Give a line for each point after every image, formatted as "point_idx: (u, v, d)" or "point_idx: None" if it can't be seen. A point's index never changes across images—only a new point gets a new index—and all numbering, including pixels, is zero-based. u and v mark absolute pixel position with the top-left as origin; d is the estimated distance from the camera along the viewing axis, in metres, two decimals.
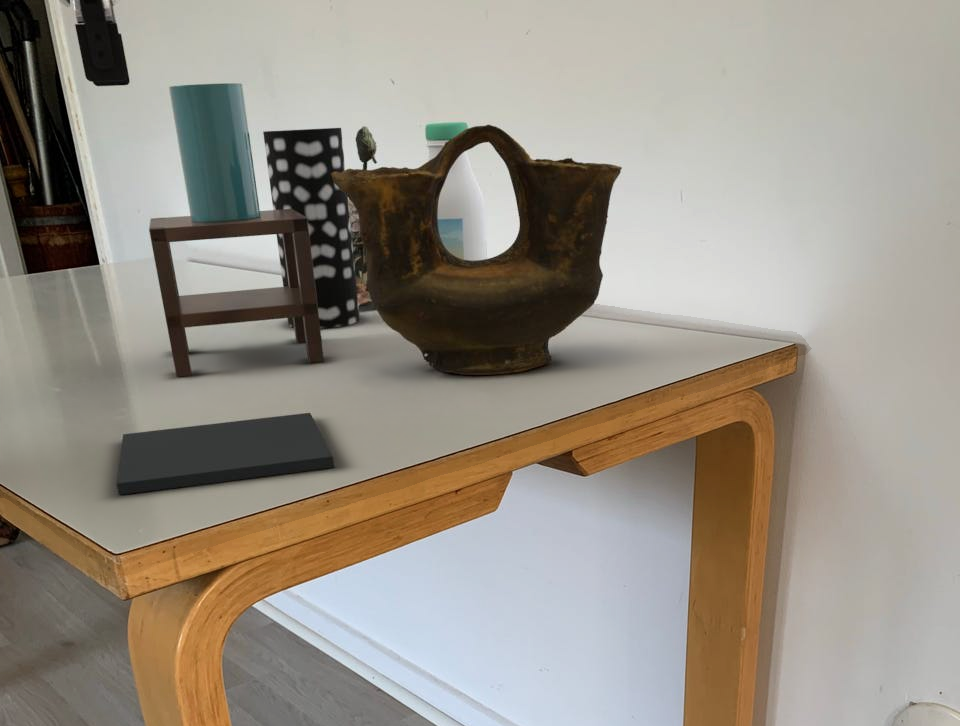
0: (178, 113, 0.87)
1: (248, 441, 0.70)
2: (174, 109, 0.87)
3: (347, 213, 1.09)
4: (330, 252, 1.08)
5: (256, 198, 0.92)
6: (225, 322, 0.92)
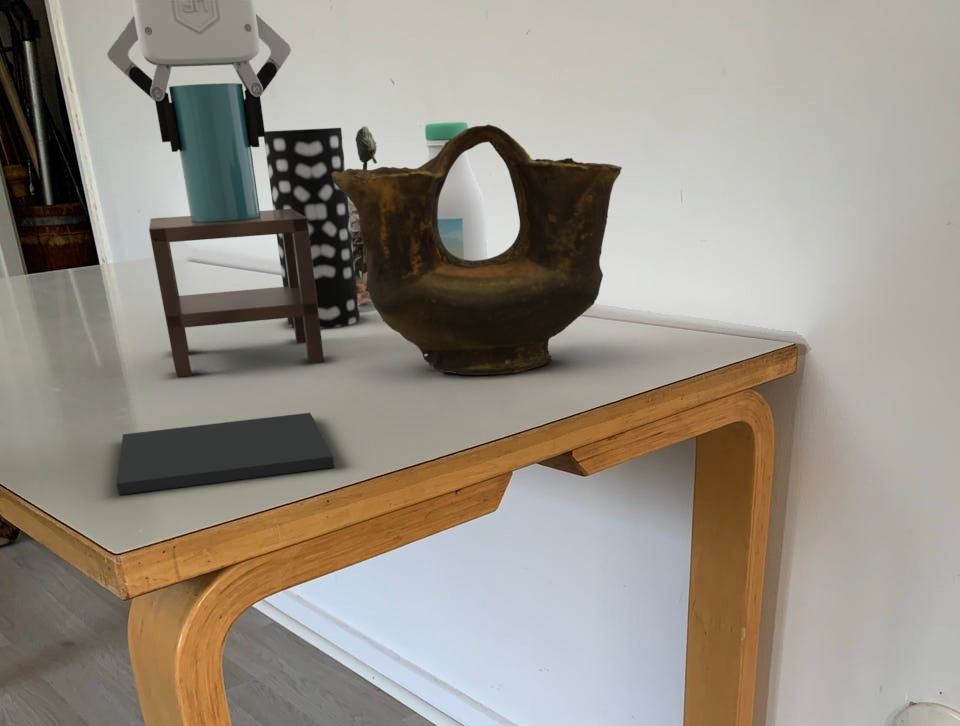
0: (178, 113, 0.87)
1: (248, 441, 0.70)
2: (174, 109, 0.87)
3: (347, 213, 1.09)
4: (330, 252, 1.08)
5: (256, 198, 0.92)
6: (225, 322, 0.92)
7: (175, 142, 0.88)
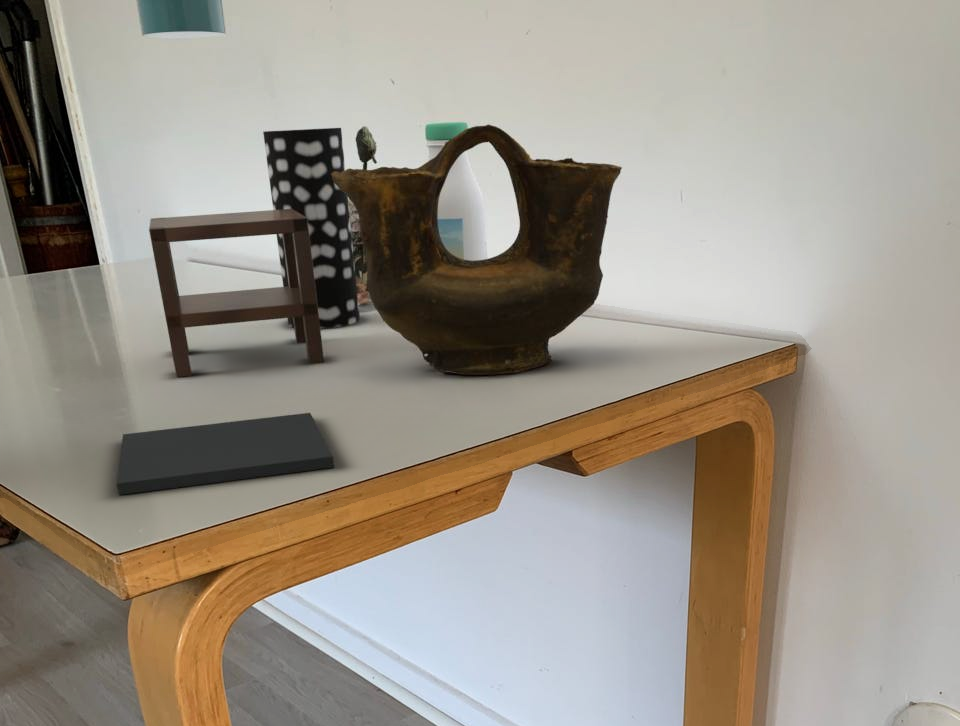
0: None
1: (248, 441, 0.70)
2: None
3: (347, 213, 1.09)
4: (330, 252, 1.08)
5: (220, 8, 0.76)
6: (225, 322, 0.92)
7: None
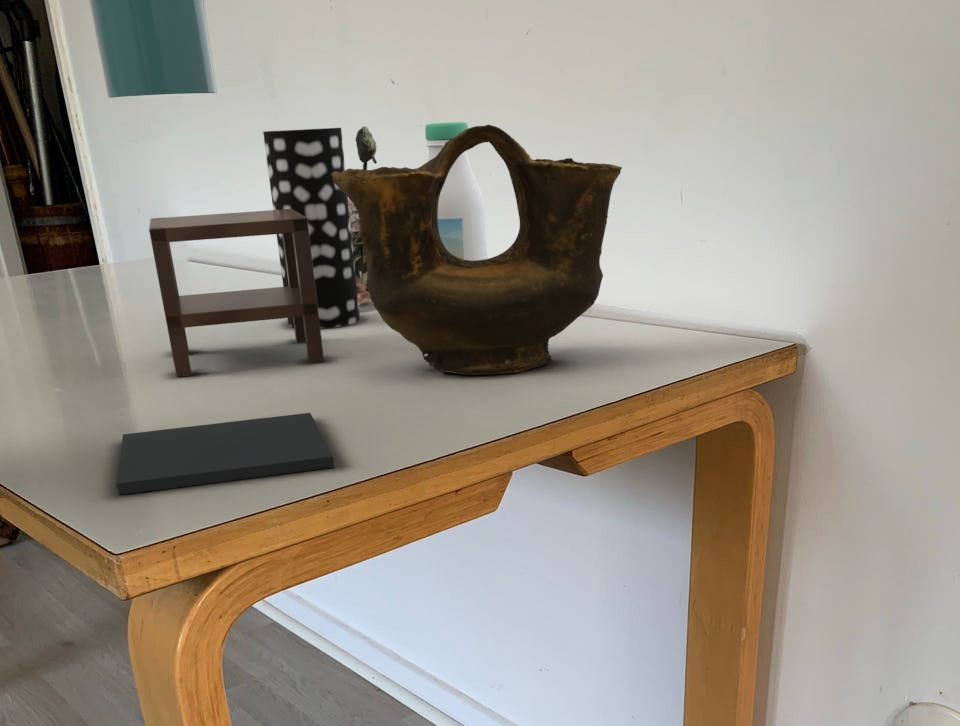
0: None
1: (248, 441, 0.70)
2: None
3: (347, 213, 1.09)
4: (330, 252, 1.08)
5: (209, 61, 0.59)
6: (225, 322, 0.92)
7: None
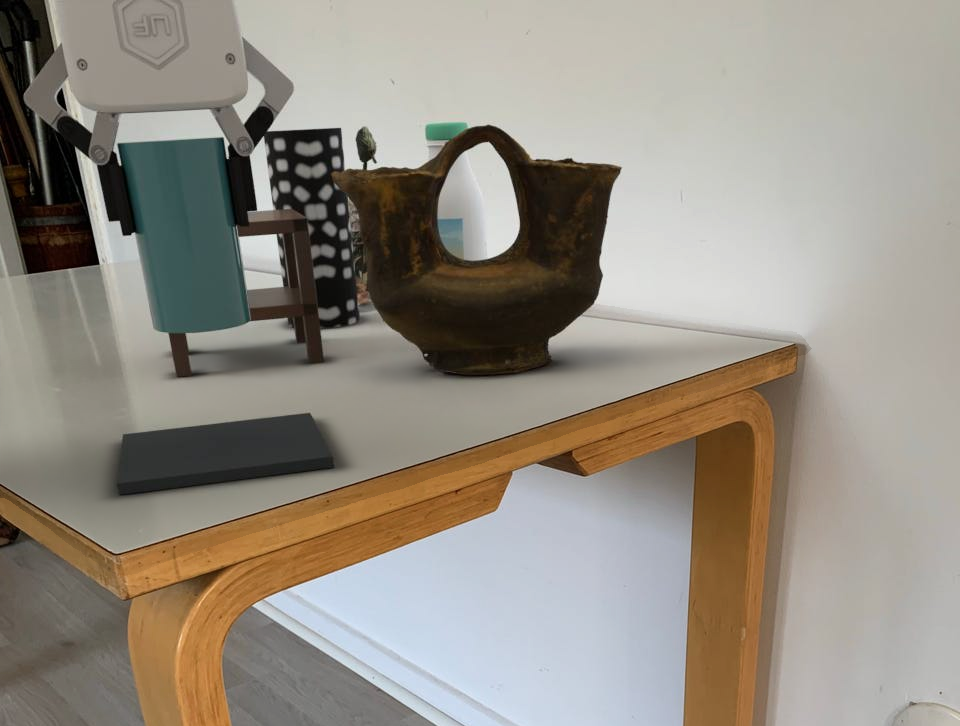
0: (130, 181, 0.60)
1: (248, 441, 0.70)
2: (125, 175, 0.60)
3: (347, 213, 1.09)
4: (330, 252, 1.08)
5: (244, 296, 0.65)
6: None
7: (127, 223, 0.61)
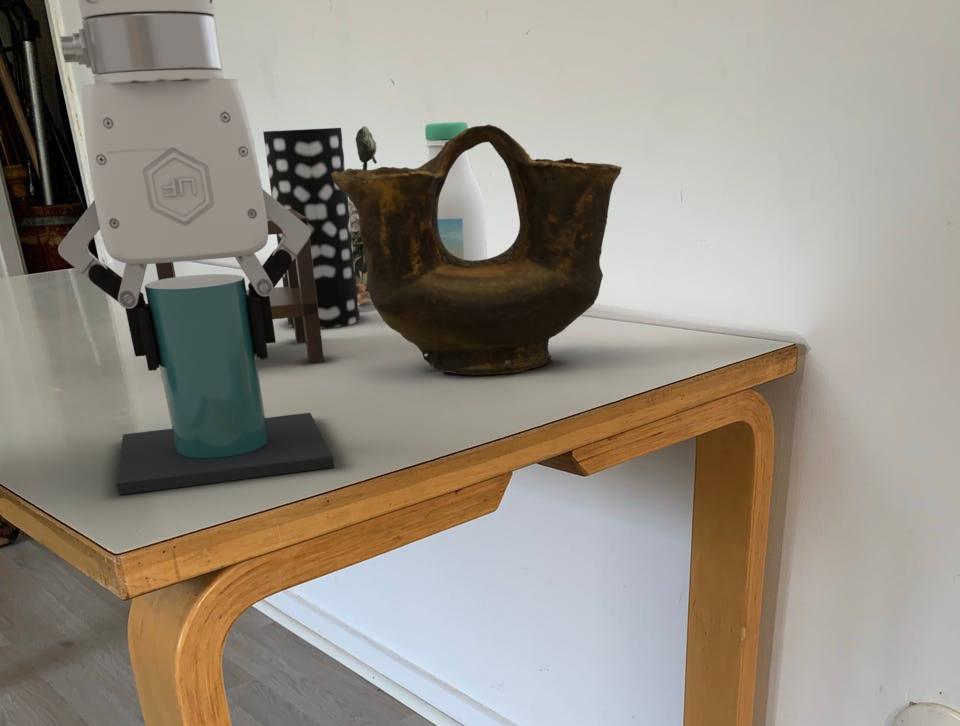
0: (157, 322, 0.64)
1: None
2: (152, 316, 0.64)
3: (347, 213, 1.09)
4: (330, 252, 1.08)
5: (262, 421, 0.69)
6: None
7: (152, 359, 0.65)
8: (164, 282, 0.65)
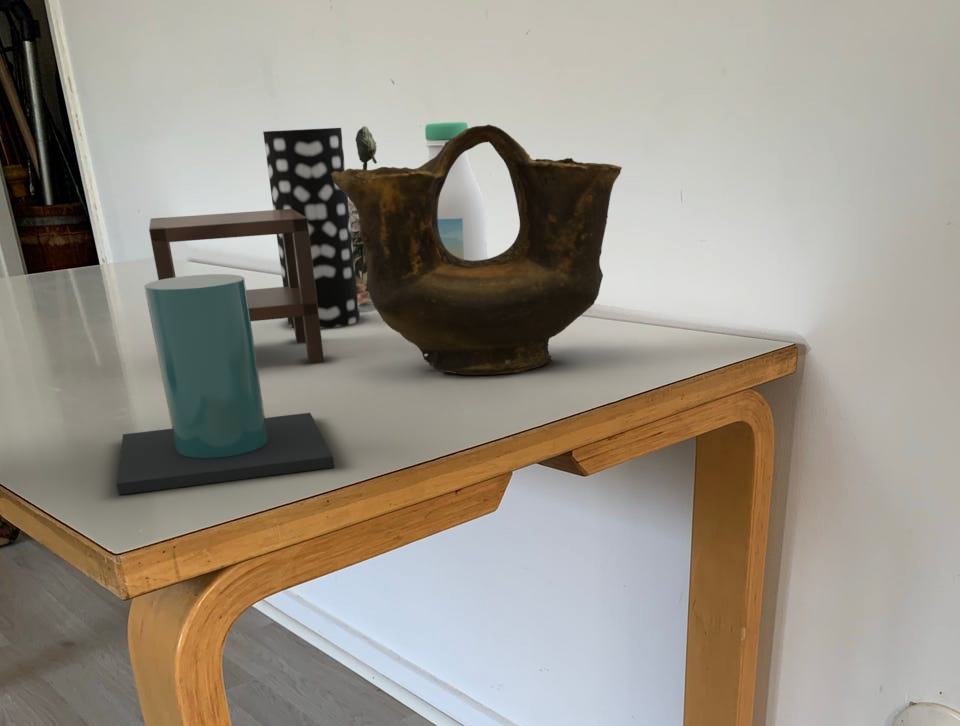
0: (157, 322, 0.64)
1: None
2: (151, 316, 0.64)
3: (347, 213, 1.09)
4: (330, 252, 1.08)
5: (262, 421, 0.69)
6: None
7: None
8: (164, 282, 0.65)
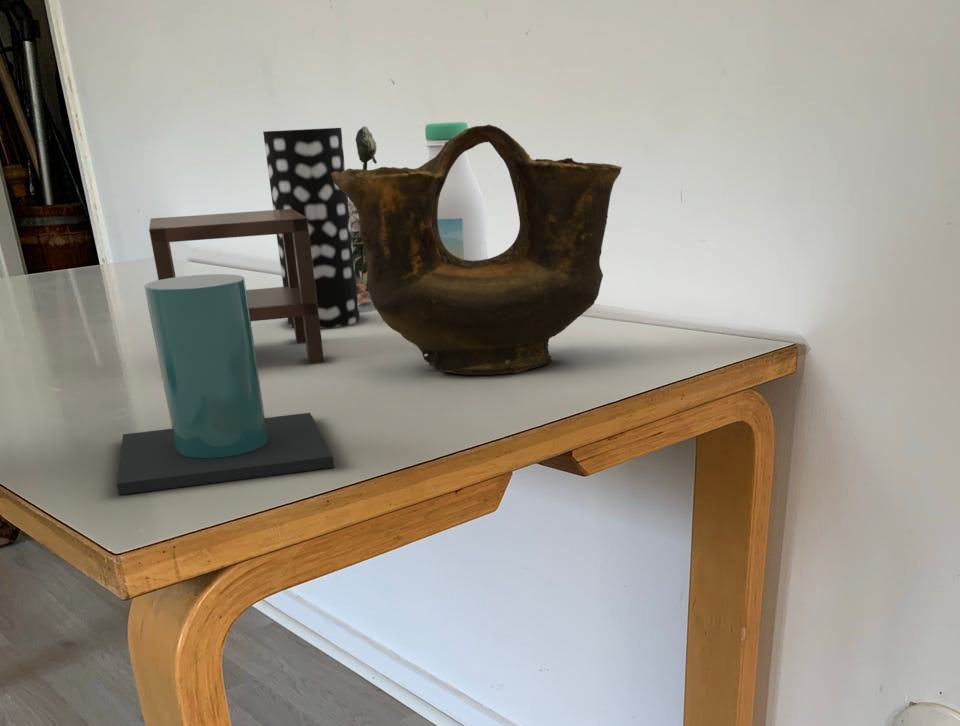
0: (157, 322, 0.64)
1: None
2: (151, 316, 0.64)
3: (347, 213, 1.09)
4: (330, 252, 1.08)
5: (262, 421, 0.69)
6: None
7: None
8: (164, 282, 0.65)
